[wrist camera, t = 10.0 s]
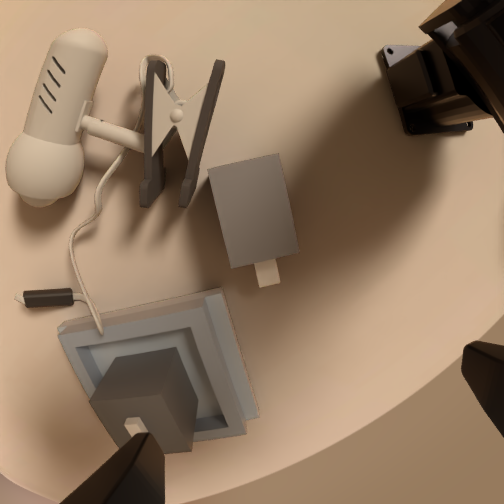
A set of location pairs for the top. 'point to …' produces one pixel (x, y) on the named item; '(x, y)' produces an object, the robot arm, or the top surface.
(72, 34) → the clip-on lamp
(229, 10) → the top surface
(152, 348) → the blue gray tray
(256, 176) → the cable plug
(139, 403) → the brick
